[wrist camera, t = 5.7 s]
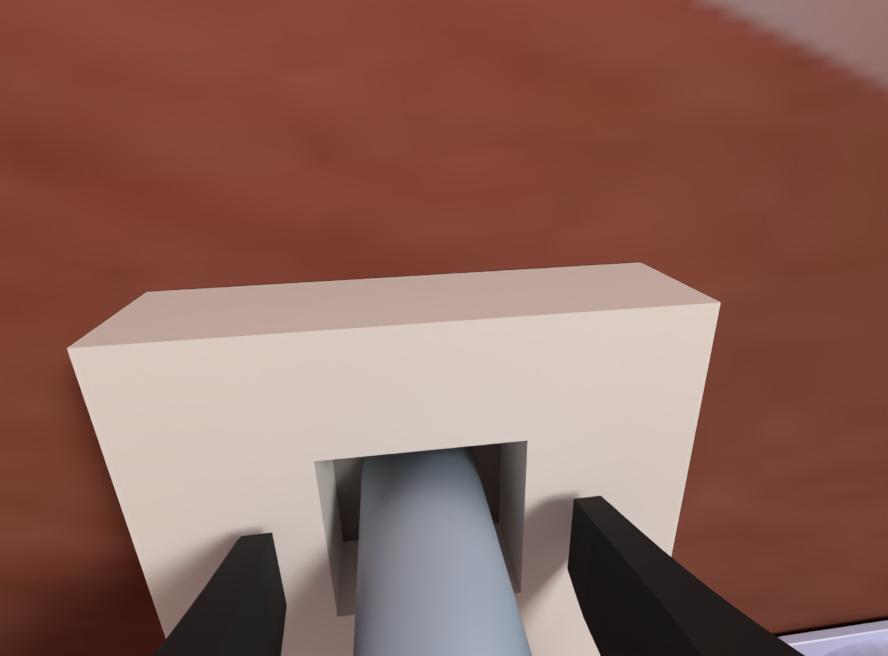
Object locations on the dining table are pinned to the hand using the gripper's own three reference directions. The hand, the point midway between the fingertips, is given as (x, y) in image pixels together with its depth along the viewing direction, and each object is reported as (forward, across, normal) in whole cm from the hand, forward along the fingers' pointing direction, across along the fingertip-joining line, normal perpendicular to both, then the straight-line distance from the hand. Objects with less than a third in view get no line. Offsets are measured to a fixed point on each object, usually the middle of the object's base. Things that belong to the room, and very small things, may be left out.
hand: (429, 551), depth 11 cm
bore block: (+4, 0, 0) cm, 4 cm away
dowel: (+3, 0, 0) cm, 3 cm away
